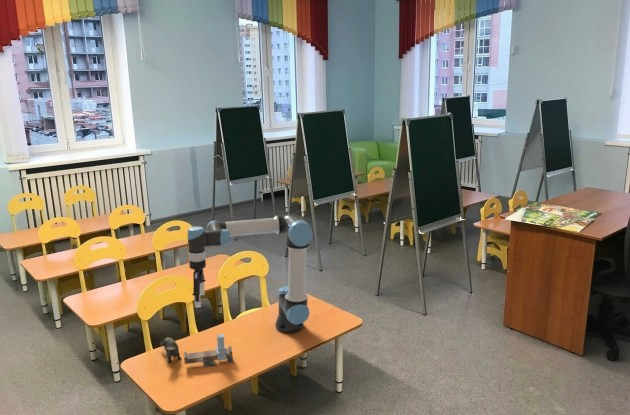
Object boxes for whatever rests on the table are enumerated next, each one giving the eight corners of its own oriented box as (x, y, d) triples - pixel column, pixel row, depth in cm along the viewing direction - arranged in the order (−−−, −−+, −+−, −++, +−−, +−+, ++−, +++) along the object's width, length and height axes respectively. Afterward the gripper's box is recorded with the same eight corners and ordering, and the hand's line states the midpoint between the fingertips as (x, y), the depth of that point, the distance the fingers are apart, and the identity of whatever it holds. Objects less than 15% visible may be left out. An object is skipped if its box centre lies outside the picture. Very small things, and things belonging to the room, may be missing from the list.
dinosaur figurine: (160, 348, 250) (158, 328, 248) (177, 345, 254) (175, 325, 251) (165, 371, 231) (164, 349, 228) (184, 367, 234) (182, 346, 231)
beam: (231, 357, 243) (231, 345, 241) (233, 363, 238) (232, 351, 236) (184, 364, 237) (184, 351, 235) (185, 370, 232) (184, 357, 231)
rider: (224, 351, 242) (223, 331, 239) (226, 359, 235) (225, 339, 232) (216, 352, 241) (215, 332, 238) (217, 360, 234) (216, 340, 231)
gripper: (193, 250, 247) (195, 290, 252) (184, 269, 223) (188, 313, 228) (208, 250, 248) (210, 289, 253) (202, 269, 223) (204, 312, 229)
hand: (199, 300), depth 241 cm, fingers open, 13 cm apart
